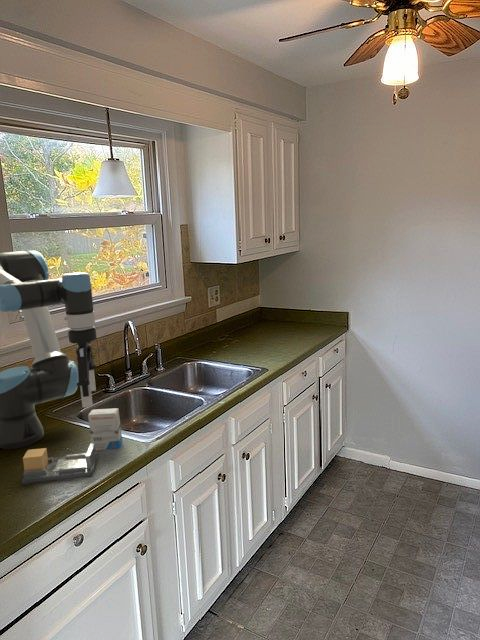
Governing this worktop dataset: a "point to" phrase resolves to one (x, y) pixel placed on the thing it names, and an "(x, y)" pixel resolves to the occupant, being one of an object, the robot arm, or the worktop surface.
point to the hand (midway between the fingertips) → (89, 398)
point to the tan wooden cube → (35, 459)
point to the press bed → (65, 467)
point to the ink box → (105, 428)
